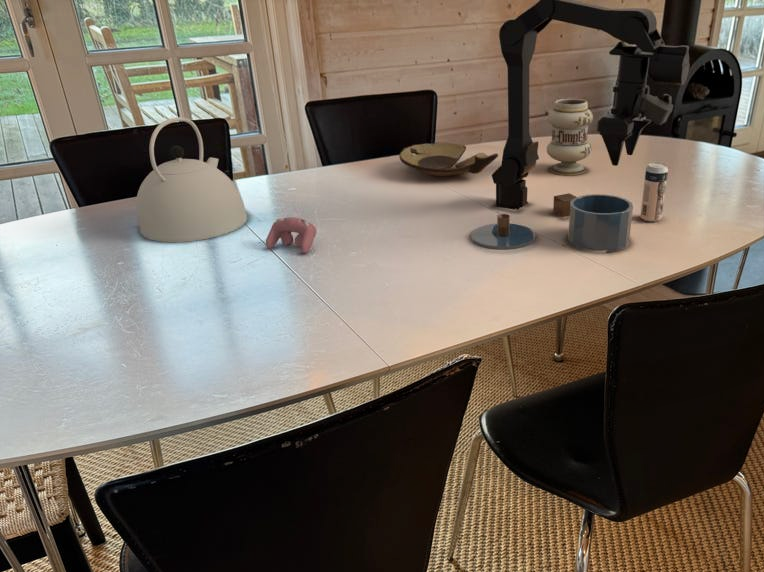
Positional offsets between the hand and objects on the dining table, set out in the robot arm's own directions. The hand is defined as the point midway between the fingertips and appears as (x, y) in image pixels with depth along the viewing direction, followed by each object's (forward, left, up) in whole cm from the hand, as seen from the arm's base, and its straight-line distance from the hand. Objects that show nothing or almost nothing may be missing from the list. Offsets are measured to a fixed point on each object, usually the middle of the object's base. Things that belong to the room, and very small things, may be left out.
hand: (622, 160), depth 140 cm
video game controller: (-55, -43, -14) cm, 71 cm away
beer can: (+6, +6, -14) cm, 16 cm away
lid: (-18, -20, -13) cm, 30 cm away
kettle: (-85, -41, -14) cm, 95 cm away
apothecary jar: (-25, +34, -14) cm, 44 cm away
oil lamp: (-53, +16, -14) cm, 57 cm away
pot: (0, -12, -14) cm, 18 cm away
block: (-12, 0, -14) cm, 18 cm away
